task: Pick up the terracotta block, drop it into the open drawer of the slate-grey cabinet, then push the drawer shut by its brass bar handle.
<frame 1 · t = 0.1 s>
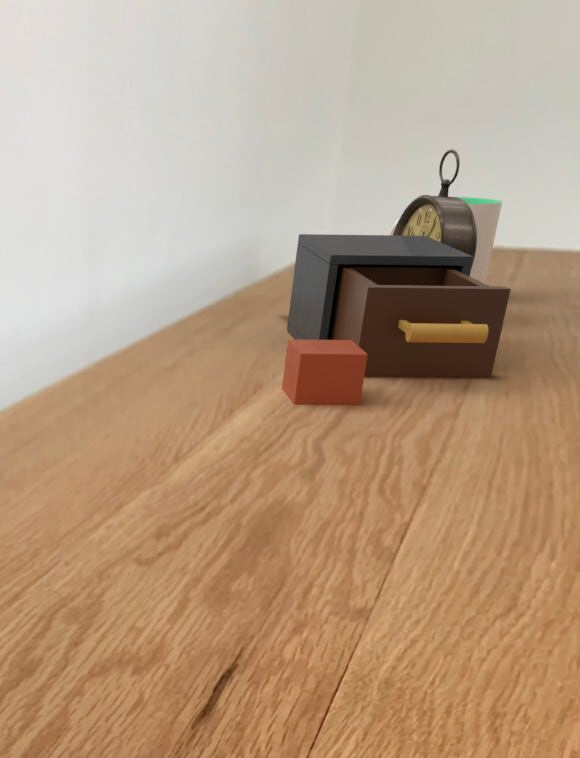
cabinet: (364, 345, 108), on the table
alarm clock: (421, 319, 121), on the table
drawer: (415, 325, 94), point 5 cm above the table, slide at 10.0 cm
mug: (428, 297, 133), on the table
block: (317, 412, 87), on the table
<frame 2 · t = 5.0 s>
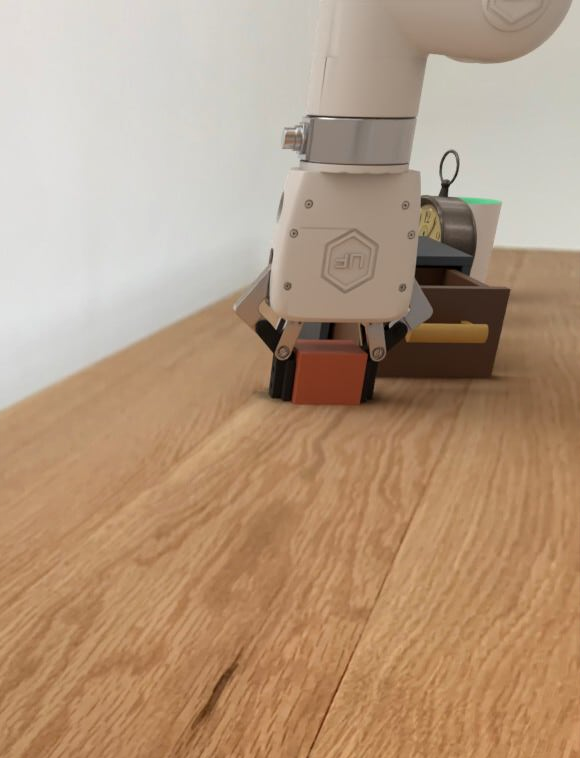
hand: (318, 407, 87), 0 cm above the table, tool pointing down, fingers closed on block, 5 cm apart
block: (317, 412, 87), on the table, touching gripper
everything else where it was.
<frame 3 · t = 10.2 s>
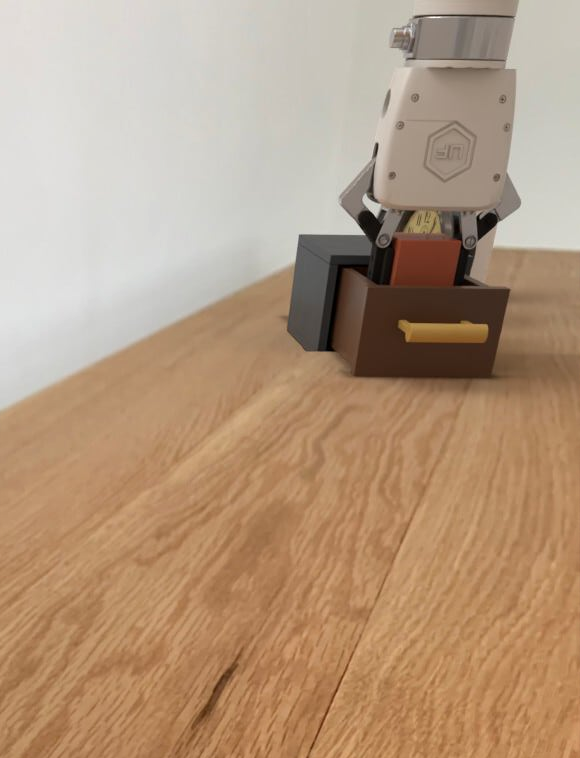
hand: (411, 294, 95), 7 cm above the table, tool pointing down, fingers closed on block, 5 cm apart
drawer: (414, 325, 94), point 5 cm above the table, slide at 10.0 cm, touching gripper
block: (410, 300, 95), point 6 cm above the table, touching gripper
everything else where it was.
when the fingers open (8 cm above the table, at t = 19.7 s): block drops 6 cm, resting on drawer.
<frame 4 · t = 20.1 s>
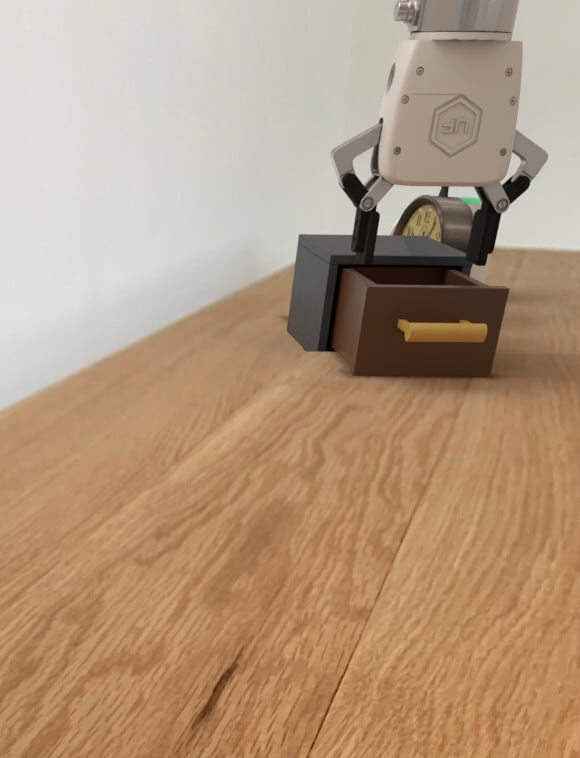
hand: (419, 262, 93), 9 cm above the table, tool pointing down, fingers open, 9 cm apart
drawer: (414, 324, 94), point 5 cm above the table, slide at 9.7 cm, touching block
block: (404, 351, 97), point 2 cm above the table, touching drawer
everything else where it was.
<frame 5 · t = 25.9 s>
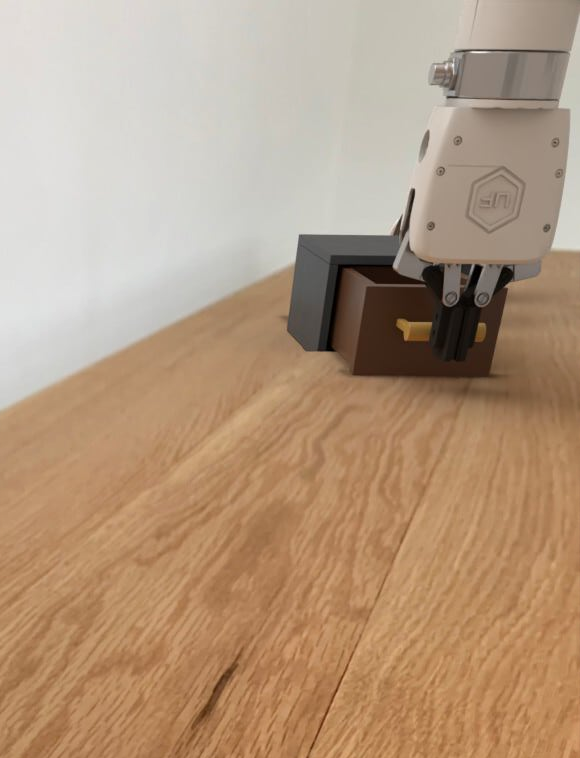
hand: (448, 357, 86), 4 cm above the table, tool pointing down, fingers closed
drawer: (413, 324, 94), point 5 cm above the table, slide at 9.5 cm, touching block, gripper
everything else where it was.
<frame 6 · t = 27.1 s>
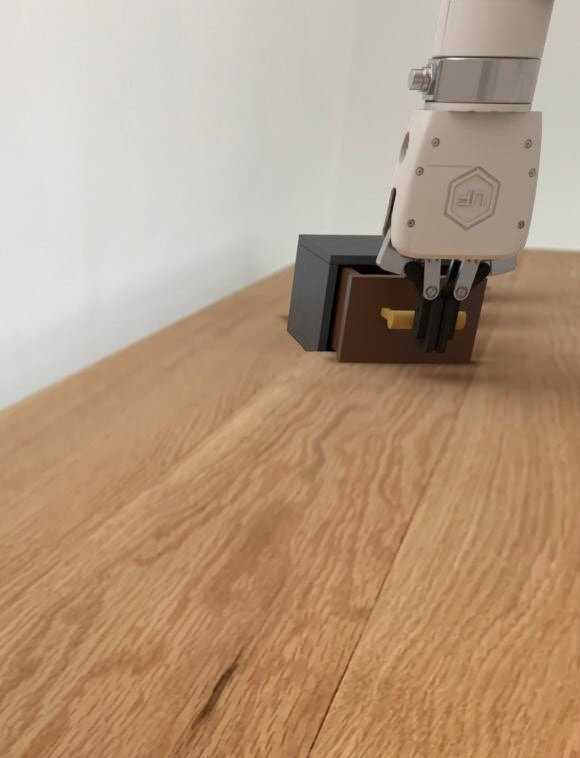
hand: (429, 348, 90), 4 cm above the table, tool pointing down, fingers closed
drawer: (397, 313, 98), point 5 cm above the table, slide at 4.7 cm, touching block, gripper
block: (388, 339, 101), point 2 cm above the table, touching drawer
everything else where it was.
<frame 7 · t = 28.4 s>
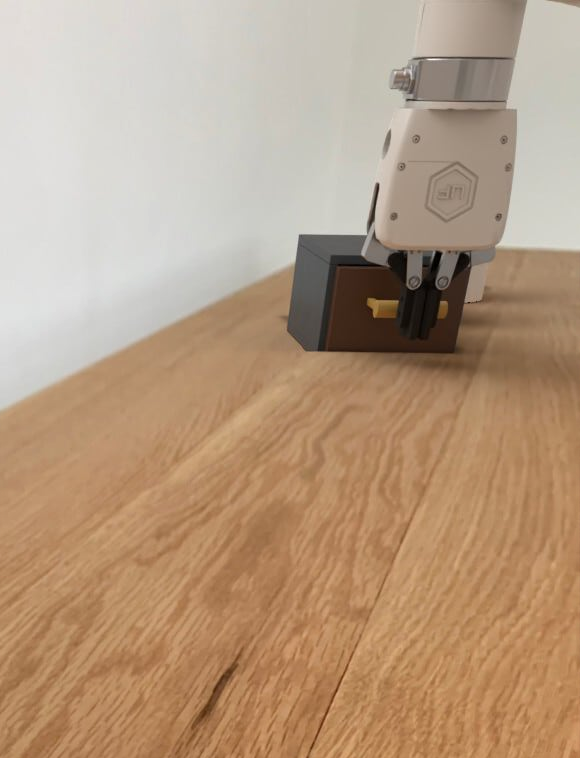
hand: (413, 336, 94), 4 cm above the table, tool pointing down, fingers closed
drawer: (383, 303, 102), point 5 cm above the table, slide at 0.0 cm, touching block, cabinet, gripper
block: (375, 329, 105), point 2 cm above the table, touching drawer
everything else where it was.
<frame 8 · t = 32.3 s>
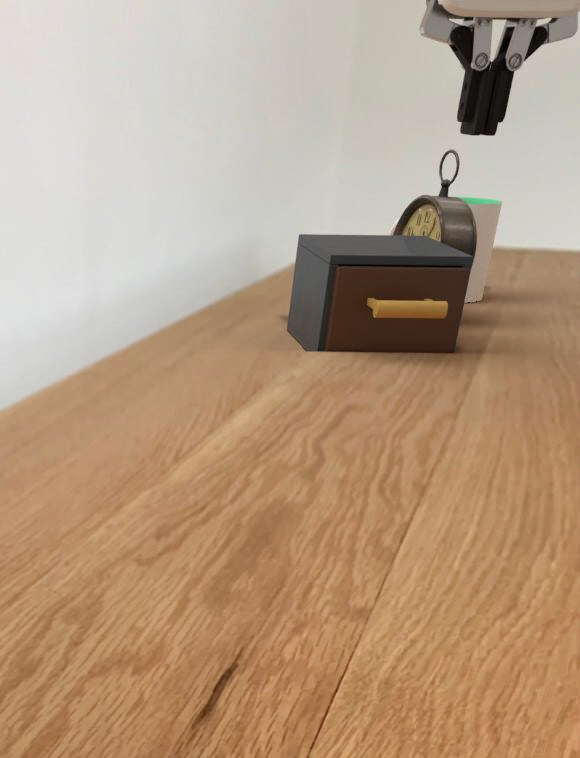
hand: (477, 133, 81), 19 cm above the table, tool pointing down, fingers closed
drawer: (383, 303, 102), point 5 cm above the table, slide at 0.0 cm, touching block, cabinet
everything else where it was.
at the end: block inside the target area in the cabinet (2.3 cm from its centre), point 2.0 cm above the cabinet's base; drawer slide at 0.0 cm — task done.
